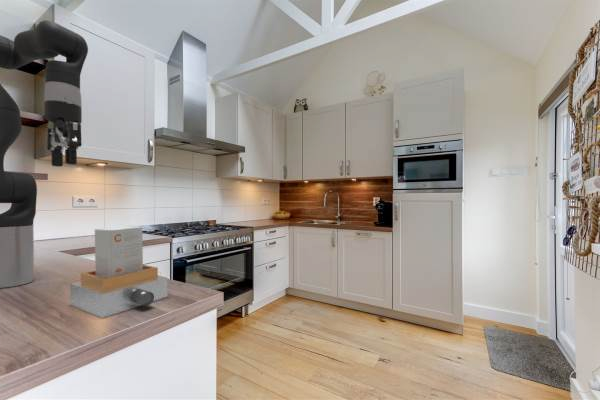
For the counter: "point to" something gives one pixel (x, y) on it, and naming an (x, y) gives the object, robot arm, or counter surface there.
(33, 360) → the counter surface
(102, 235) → the small box
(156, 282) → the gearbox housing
